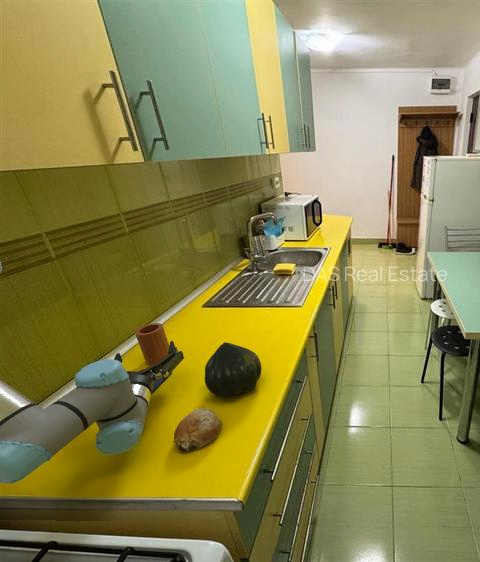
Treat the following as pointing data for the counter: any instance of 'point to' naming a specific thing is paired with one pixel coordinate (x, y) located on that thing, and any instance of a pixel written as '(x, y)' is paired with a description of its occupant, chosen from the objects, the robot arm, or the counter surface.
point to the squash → (232, 370)
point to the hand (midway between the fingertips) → (147, 350)
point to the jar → (152, 342)
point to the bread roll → (197, 430)
